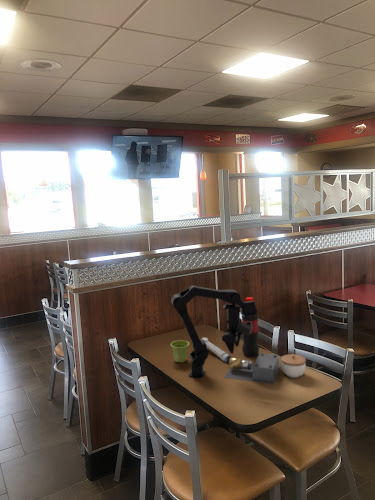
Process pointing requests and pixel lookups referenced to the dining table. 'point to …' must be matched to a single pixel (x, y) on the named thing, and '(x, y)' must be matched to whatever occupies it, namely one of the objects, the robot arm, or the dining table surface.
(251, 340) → the cola bottle
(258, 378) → the plate
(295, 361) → the lidded jar
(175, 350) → the plant pot
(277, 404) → the dining table surface
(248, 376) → the mat
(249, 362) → the silver and amber cylinder
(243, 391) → the dining table surface
